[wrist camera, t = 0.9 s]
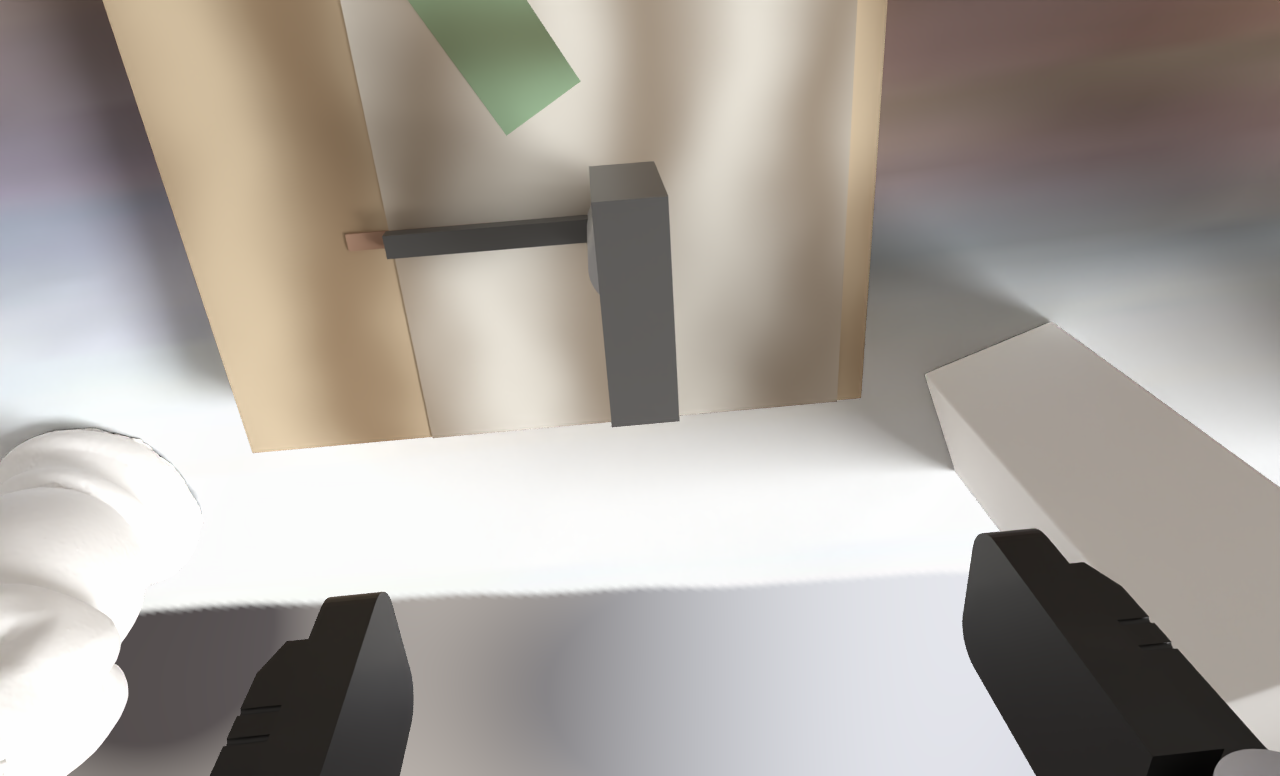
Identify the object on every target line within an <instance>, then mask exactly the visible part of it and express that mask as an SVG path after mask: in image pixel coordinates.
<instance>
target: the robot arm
mask: <svg viewBox="0 0 1280 776" xmlns="http://www.w3.org/2000/svg"><path fill="white" fill-rule="evenodd" d="M962 622H963V623H962V624H963V625H962V626H963V635H964V641H965V645H966V649H967V652H968V655H969V658H970V660H971V663H972V664H973V666H974V668H975V670H976V672H977V673H978V675H979V677H980V679H981V680H982V682H983V684H984V686H985V687H986V689H987V691H988V693H989V694H990V696H991V698H992V700H993V701H994V703H995V705H996V707H997V708H998V710H999V712H1000V714H1001V715H1002V717H1003V719H1004V721H1005V722H1006V724H1007V726H1008V728H1009V729H1010V731H1011V733H1012V735H1013V736H1014V738H1015V740H1016V742H1017V743H1018V745H1019V747H1020V748H1021V750H1022V752H1023V754H1024V755H1025V757H1026V759H1027V761H1028V762H1029V764H1030V766H1031V768H1032V769H1033V771H1034V773H1035V774H1036V776H1280V752H1277V751H1272V750H1268V749H1267V748H1266V747H1265V746H1264V745H1263V744H1262V743H1261V742H1260V741H1259V739H1258V738H1257V737H1256V736H1255V735H1254V734H1253V733H1252V732H1251V730H1250V729H1249V728H1248V727H1247V726H1246V725H1245V724H1244V723H1243V721H1242V720H1241V719H1240V718H1239V717H1238V716H1237V715H1236V714H1235V712H1234V711H1233V710H1232V709H1231V708H1230V707H1229V706H1228V705H1227V704H1226V702H1225V701H1224V700H1223V699H1222V698H1221V697H1220V696H1219V695H1218V693H1217V692H1216V691H1215V690H1214V689H1213V688H1212V687H1211V686H1210V684H1209V683H1208V682H1207V681H1206V680H1205V679H1204V678H1203V677H1202V675H1201V674H1200V673H1199V672H1198V671H1197V670H1196V669H1195V668H1194V666H1193V665H1192V664H1191V663H1190V662H1189V661H1188V660H1187V659H1186V657H1185V656H1184V655H1183V654H1182V653H1181V652H1180V651H1179V650H1178V649H1177V648H1176V649H1174V648H1173V647H1172V644H1171V641H1170V640H1169V638H1168V637H1167V636H1166V635H1165V634H1164V633H1163V632H1162V631H1161V629H1160V628H1159V627H1158V626H1157V625H1156V624H1155V623H1151V622H1150V621H1149V616H1148V615H1147V614H1146V613H1145V611H1144V610H1143V609H1142V608H1141V607H1140V606H1139V605H1138V604H1137V603H1136V601H1135V600H1134V599H1133V598H1132V597H1131V596H1130V595H1129V594H1128V592H1127V591H1126V590H1125V589H1124V588H1123V587H1122V586H1121V585H1119V584H1118V583H1116V582H1114V581H1113V580H1111V579H1110V578H1108V577H1107V576H1105V575H1103V574H1102V573H1100V572H1099V571H1097V570H1096V569H1094V568H1092V567H1091V566H1089V565H1088V564H1086V563H1085V562H1079V563H1069V562H1068V561H1067V560H1066V559H1065V557H1064V556H1063V555H1062V554H1061V553H1060V551H1059V550H1058V549H1057V548H1056V547H1055V545H1054V544H1053V543H1052V542H1051V541H1050V539H1049V538H1048V537H1047V536H1046V535H1045V534H1044V533H1043V532H1042V531H1040V530H1039V529H1036V528H1031V529H1021V530H1011V531H1001V532H991V533H982V534H979V535H978V536H977V537H976V539H975V541H974V545H973V550H972V557H971V564H970V570H969V577H968V584H967V591H966V598H965V604H964V612H963V620H962ZM412 715H413V682H412V676H411V671H410V667H409V664H408V660H407V656H406V653H405V649H404V645H403V642H402V638H401V635H400V631H399V628H398V623H397V620H396V616H395V613H394V609H393V605H392V602H391V599H390V597H389V596H388V594H387V593H386V592H377V593H367V594H357V595H347V596H337V597H329V598H327V599H326V600H325V601H324V603H323V605H322V607H321V609H320V612H319V614H318V617H317V619H316V621H315V624H314V626H313V629H312V632H311V634H310V636H309V639H305V640H296V641H287V642H286V643H285V644H284V645H283V646H282V647H281V648H280V649H279V650H278V651H277V652H276V654H275V655H274V656H273V657H272V658H271V659H270V660H269V661H268V662H267V663H266V664H265V665H264V666H263V667H262V669H261V670H260V671H259V672H258V673H257V674H256V677H255V678H254V681H253V683H252V685H251V687H250V689H249V692H248V694H247V696H246V698H245V700H244V703H243V705H242V707H241V715H240V716H237V718H236V720H235V722H234V724H233V726H232V729H231V731H230V733H229V735H228V738H227V746H224V747H223V748H222V750H221V752H220V755H219V757H218V759H217V761H216V763H215V766H214V768H213V770H212V772H211V774H210V776H400V772H401V767H402V763H403V758H404V754H405V749H406V745H407V740H408V736H409V731H410V727H411V722H412Z"/></svg>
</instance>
